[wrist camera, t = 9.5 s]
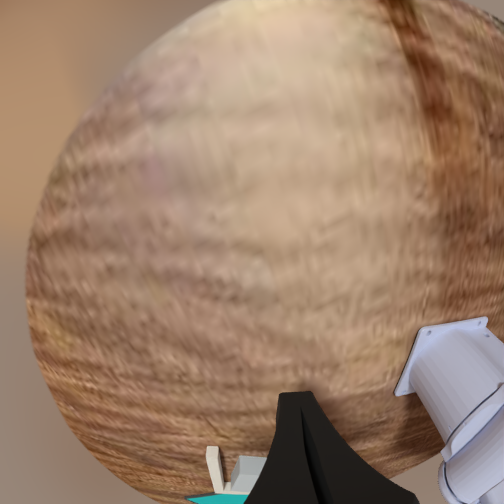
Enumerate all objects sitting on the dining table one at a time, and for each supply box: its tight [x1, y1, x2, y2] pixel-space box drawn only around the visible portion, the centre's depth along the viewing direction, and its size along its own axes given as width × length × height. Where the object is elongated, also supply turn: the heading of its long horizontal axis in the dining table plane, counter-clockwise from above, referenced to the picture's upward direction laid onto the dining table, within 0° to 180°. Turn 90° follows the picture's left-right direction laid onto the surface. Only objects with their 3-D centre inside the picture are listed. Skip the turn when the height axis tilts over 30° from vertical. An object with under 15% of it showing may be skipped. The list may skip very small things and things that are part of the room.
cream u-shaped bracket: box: [206, 446, 250, 495], centre depth 25 cm, size 14×12×2 cm
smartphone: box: [184, 492, 248, 504], centre depth 30 cm, size 7×1×15 cm
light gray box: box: [231, 455, 267, 492], centre depth 25 cm, size 9×6×3 cm, turn 78°
